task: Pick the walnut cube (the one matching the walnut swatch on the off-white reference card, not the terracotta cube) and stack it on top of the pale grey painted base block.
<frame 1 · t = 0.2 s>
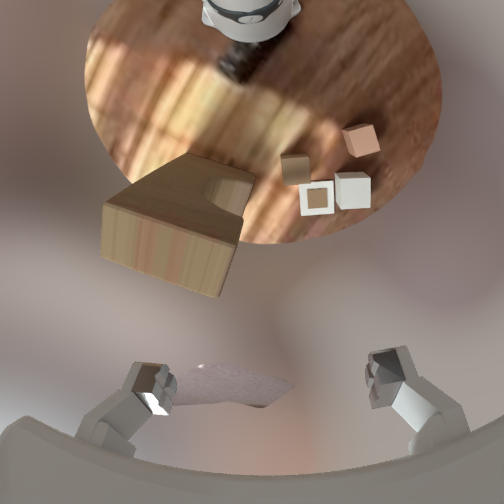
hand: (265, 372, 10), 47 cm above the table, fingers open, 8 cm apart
terracotta cube: (356, 138, 47), on the table
decorative block: (215, 179, 54), on the table
walnut cube: (294, 165, 52), on the table
reference card: (316, 197, 54), on the table
base block: (349, 186, 52), on the table
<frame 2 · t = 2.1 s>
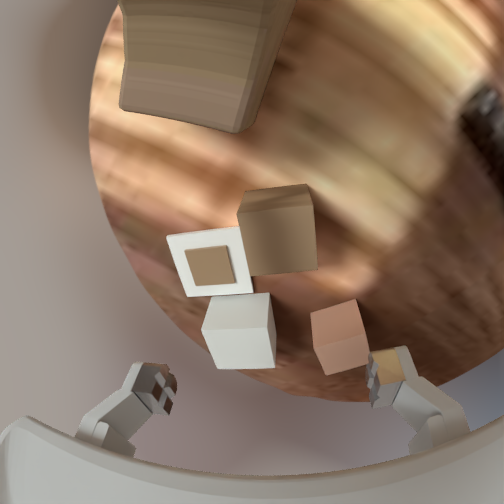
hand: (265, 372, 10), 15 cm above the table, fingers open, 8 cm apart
terracotta cube: (338, 321, 28), on the table
decorative block: (234, 31, 16), on the table
walnut cube: (279, 215, 23), on the table
reference card: (211, 263, 26), on the table
base block: (245, 315, 29), on the table
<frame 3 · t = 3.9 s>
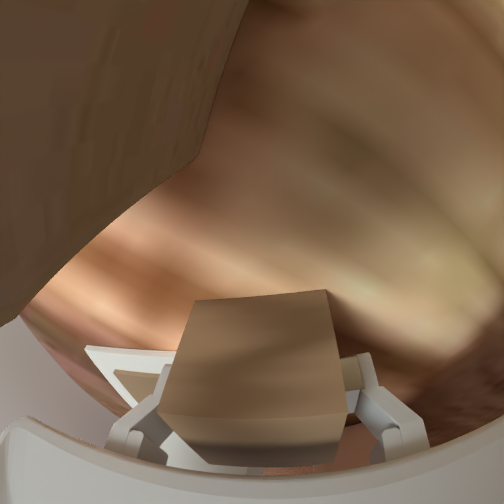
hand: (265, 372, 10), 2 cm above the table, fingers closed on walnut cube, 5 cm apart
terracotta cube: (350, 435, 17), on the table
walnut cube: (267, 341, 11), on the table, touching gripper
reference card: (158, 386, 14), on the table
base block: (220, 433, 17), on the table
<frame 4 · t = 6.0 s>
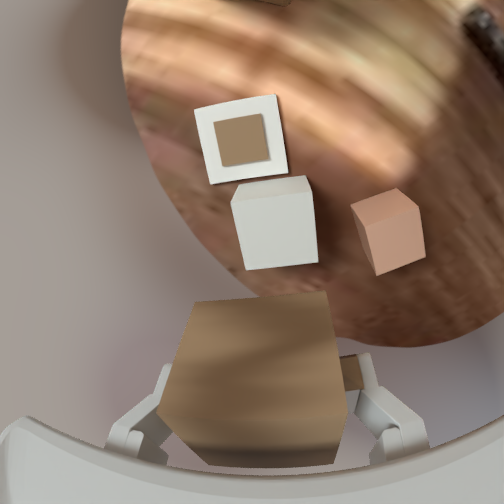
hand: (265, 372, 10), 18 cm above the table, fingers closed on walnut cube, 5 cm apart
terracotta cube: (379, 218, 25), on the table
walnut cube: (267, 342, 11), point 16 cm above the table, touching gripper
reference card: (241, 139, 22), on the table
base block: (277, 210, 25), on the table
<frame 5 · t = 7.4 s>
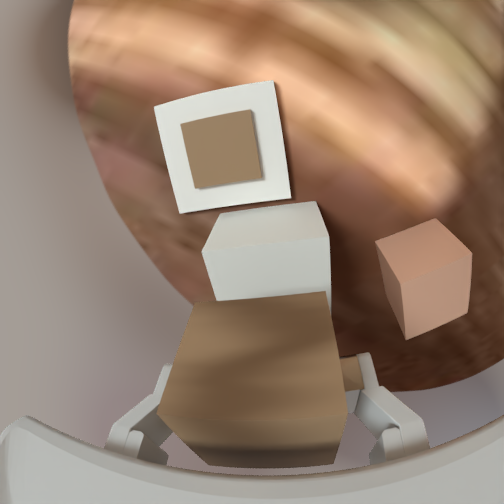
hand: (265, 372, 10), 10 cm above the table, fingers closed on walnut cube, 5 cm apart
terracotta cube: (410, 257, 18), on the table
walnut cube: (267, 342, 11), point 8 cm above the table, touching gripper
reference card: (222, 148, 15), on the table
base block: (274, 248, 18), on the table
when the fingers open (8 cm above the table, at t = 8.2 s): walnut cube drops 1 cm, resting on base block.
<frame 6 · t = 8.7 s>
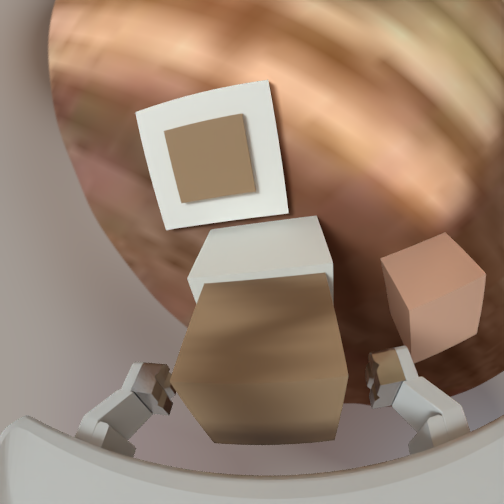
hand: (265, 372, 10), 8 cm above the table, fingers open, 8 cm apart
terracotta cube: (417, 274, 16), on the table
walnut cube: (270, 323, 12), point 5 cm above the table, touching base block
reference card: (211, 157, 14), on the table
base block: (270, 267, 17), on the table, touching walnut cube
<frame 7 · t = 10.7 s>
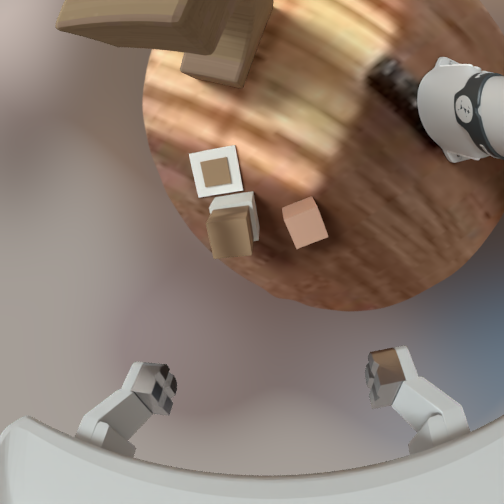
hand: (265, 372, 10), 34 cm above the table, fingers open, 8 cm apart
terracotta cube: (302, 215, 43), on the table
decorative block: (233, 39, 30), on the table
walnut cube: (233, 224, 39), point 5 cm above the table, touching base block
reference card: (216, 171, 40), on the table
base block: (237, 212, 43), on the table, touching walnut cube
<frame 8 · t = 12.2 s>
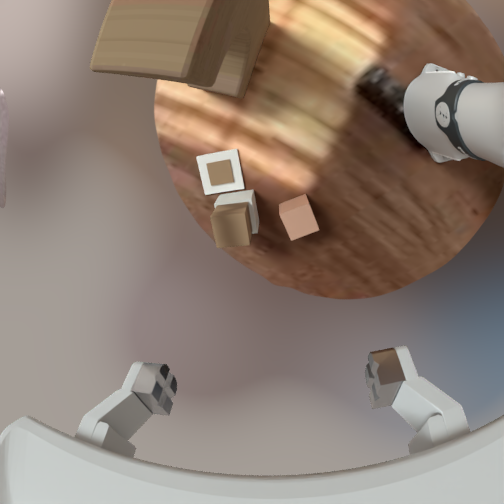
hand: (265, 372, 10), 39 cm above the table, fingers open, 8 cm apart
terracotta cube: (297, 211, 48), on the table
decorative block: (234, 53, 35), on the table
walnut cube: (234, 218, 44), point 5 cm above the table
reference card: (220, 171, 45), on the table
base block: (239, 207, 48), on the table
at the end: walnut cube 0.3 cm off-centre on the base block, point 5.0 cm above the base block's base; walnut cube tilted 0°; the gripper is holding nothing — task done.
